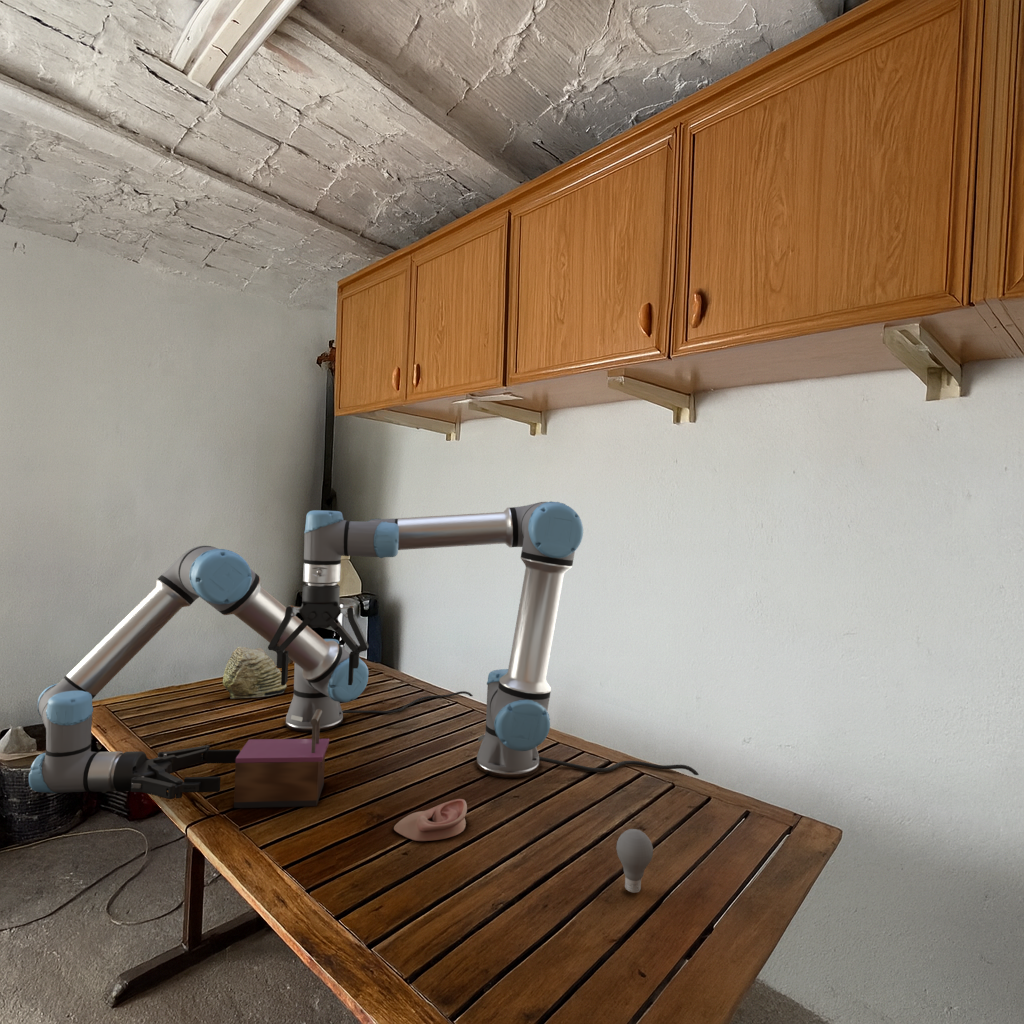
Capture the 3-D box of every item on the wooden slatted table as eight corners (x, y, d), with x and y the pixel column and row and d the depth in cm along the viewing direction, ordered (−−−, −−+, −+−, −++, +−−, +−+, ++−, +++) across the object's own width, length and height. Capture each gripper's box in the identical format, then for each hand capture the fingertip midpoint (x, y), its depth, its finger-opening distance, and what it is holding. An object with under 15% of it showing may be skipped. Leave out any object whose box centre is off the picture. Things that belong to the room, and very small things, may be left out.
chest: (323, 784, 140) (325, 743, 140) (316, 806, 130) (318, 762, 130) (247, 785, 137) (248, 744, 137) (233, 808, 127) (235, 763, 127)
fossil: (218, 695, 195) (220, 647, 195) (278, 685, 208) (279, 640, 207) (228, 703, 189) (230, 653, 188) (289, 692, 201) (290, 645, 201)
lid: (329, 742, 140) (330, 705, 139) (322, 761, 130) (323, 721, 130) (248, 743, 137) (250, 705, 137) (235, 763, 127) (236, 722, 127)
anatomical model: (388, 815, 119) (410, 788, 130) (387, 836, 119) (409, 808, 130) (456, 826, 116) (472, 797, 127) (455, 847, 116) (471, 817, 128)
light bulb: (610, 879, 108) (613, 822, 108) (644, 879, 109) (647, 822, 109) (619, 902, 102) (622, 840, 102) (655, 901, 103) (658, 840, 103)
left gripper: (146, 763, 141) (245, 762, 144) (87, 820, 116) (209, 817, 119) (147, 730, 141) (247, 729, 144) (88, 780, 116) (210, 778, 119)
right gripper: (255, 584, 128) (251, 688, 129) (380, 587, 132) (376, 688, 132) (264, 579, 136) (260, 678, 136) (382, 582, 139) (378, 678, 140)
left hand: (230, 769), depth 132 cm, fingers open, 13 cm apart
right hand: (317, 683), depth 134 cm, fingers open, 13 cm apart
